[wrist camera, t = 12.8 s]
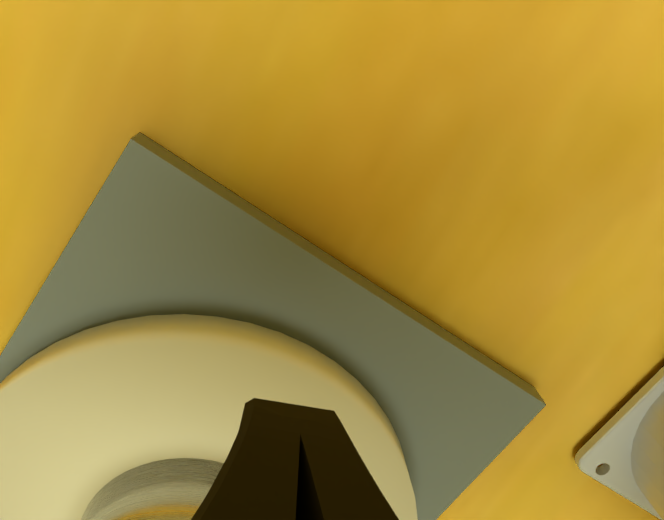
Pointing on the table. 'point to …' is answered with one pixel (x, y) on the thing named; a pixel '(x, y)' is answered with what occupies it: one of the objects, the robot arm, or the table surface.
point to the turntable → (166, 407)
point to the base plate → (276, 311)
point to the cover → (155, 491)
